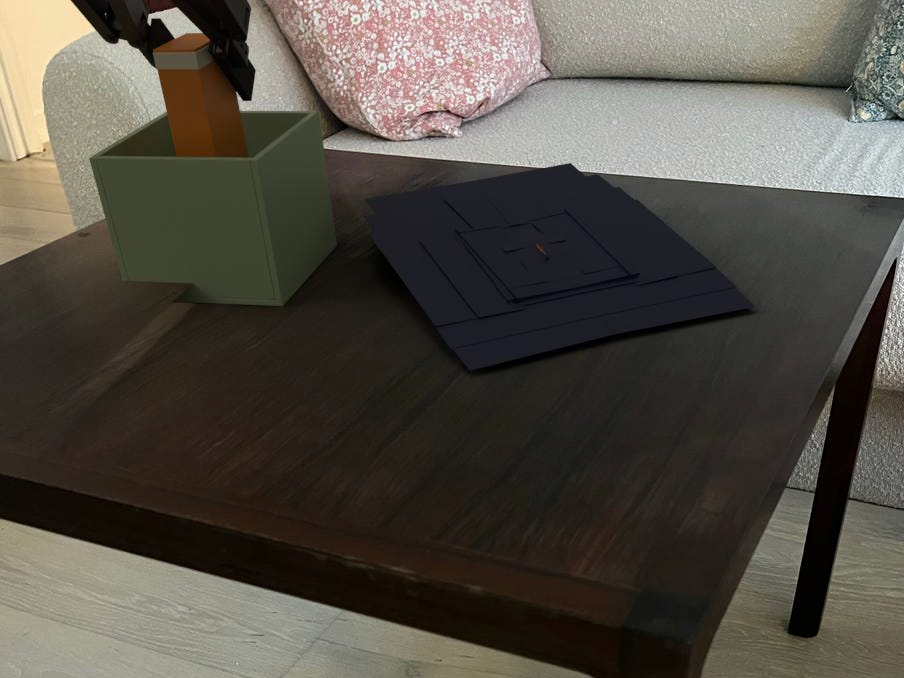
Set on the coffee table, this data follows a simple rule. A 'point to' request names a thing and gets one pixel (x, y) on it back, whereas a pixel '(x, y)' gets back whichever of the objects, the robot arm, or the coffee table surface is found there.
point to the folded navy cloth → (542, 263)
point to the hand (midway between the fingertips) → (220, 85)
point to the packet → (199, 100)
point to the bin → (221, 210)
